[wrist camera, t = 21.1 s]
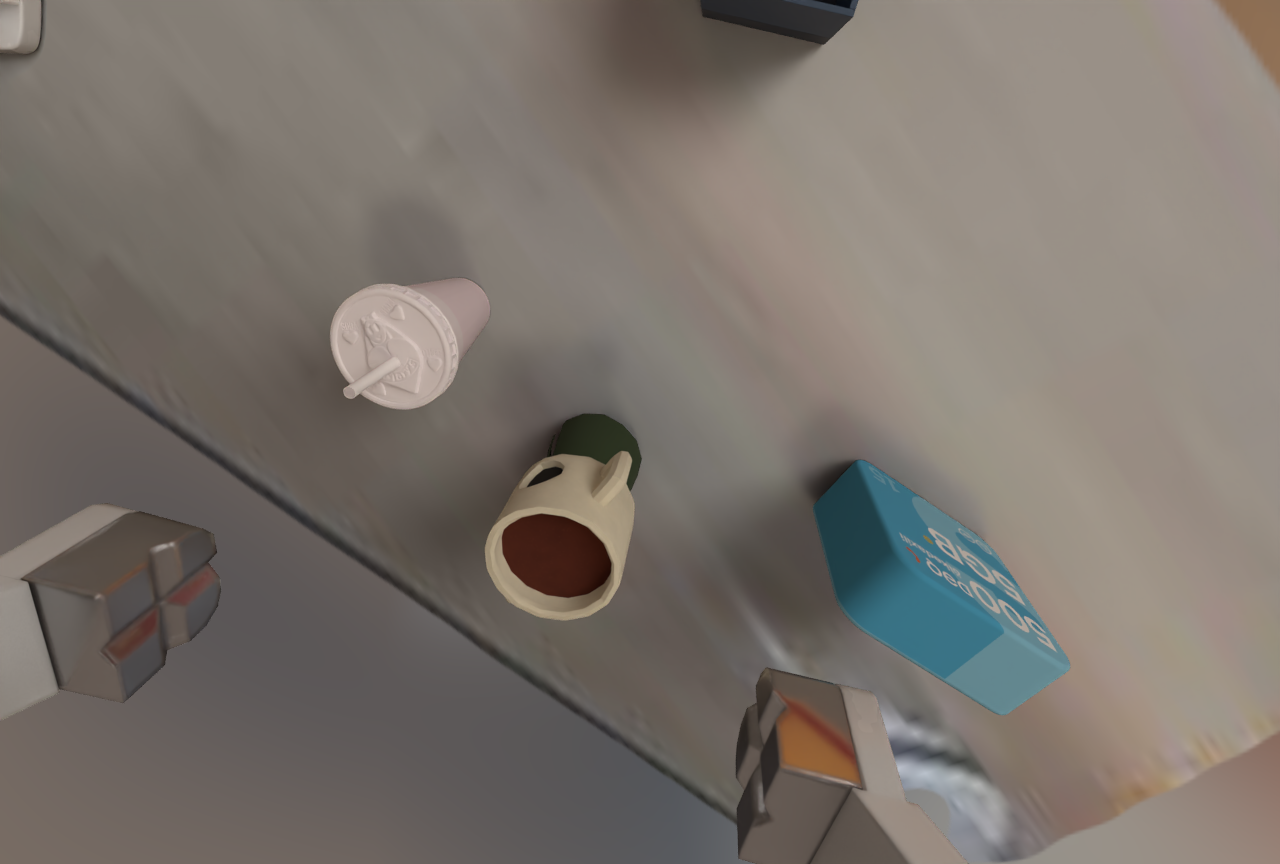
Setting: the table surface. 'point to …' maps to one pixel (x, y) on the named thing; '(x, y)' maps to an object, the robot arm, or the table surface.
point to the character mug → (568, 523)
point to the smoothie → (406, 339)
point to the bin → (785, 16)
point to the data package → (933, 591)
